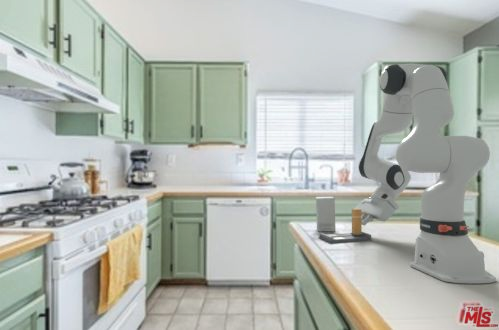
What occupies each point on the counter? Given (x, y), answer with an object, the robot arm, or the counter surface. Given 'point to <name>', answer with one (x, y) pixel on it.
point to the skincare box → (325, 213)
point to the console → (344, 237)
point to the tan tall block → (356, 222)
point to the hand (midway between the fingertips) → (361, 224)
